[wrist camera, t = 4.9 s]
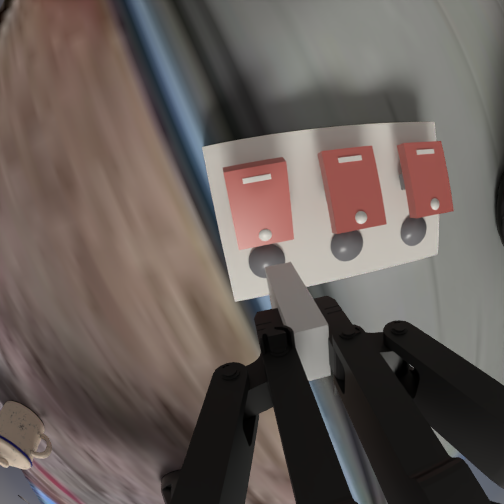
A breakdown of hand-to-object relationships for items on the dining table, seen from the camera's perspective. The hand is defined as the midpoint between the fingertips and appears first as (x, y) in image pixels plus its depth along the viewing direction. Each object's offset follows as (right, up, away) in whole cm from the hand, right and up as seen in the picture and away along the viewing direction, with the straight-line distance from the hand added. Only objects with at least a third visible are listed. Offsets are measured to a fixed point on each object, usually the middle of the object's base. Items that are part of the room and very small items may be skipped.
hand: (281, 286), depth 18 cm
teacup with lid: (-40, -27, +19) cm, 52 cm away
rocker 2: (+6, +7, +8) cm, 12 cm away
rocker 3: (+13, +9, +8) cm, 18 cm away
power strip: (+6, +7, +11) cm, 15 cm away
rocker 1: (-1, +6, +7) cm, 10 cm away
